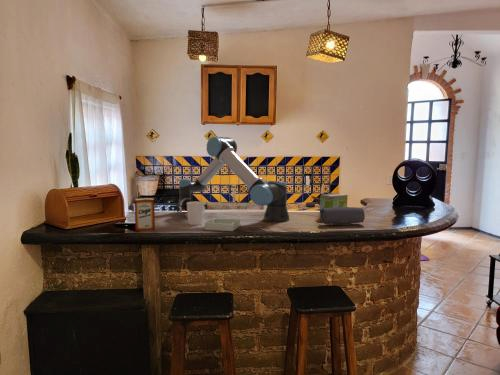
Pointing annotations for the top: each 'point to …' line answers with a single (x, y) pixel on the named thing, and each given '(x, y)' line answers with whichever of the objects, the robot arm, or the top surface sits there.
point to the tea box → (332, 201)
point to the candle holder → (195, 212)
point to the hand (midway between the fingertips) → (192, 209)
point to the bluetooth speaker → (342, 215)
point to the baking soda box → (144, 214)
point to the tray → (222, 224)
